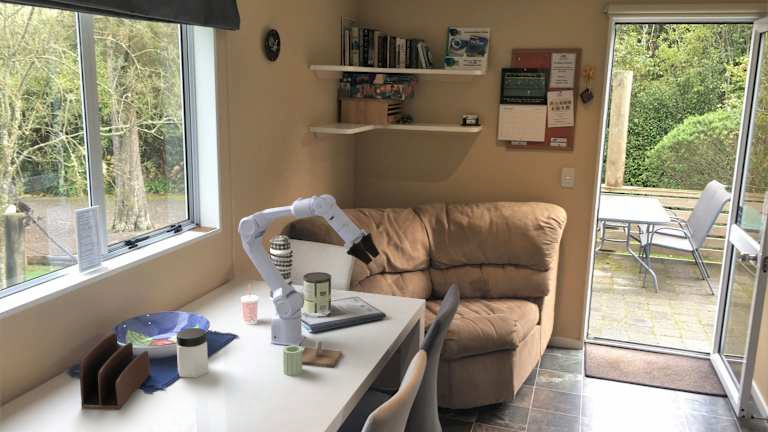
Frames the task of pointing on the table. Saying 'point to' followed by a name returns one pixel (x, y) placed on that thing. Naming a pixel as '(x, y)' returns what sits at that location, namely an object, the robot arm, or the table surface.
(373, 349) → the table surface
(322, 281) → the coffee can
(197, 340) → the jar
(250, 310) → the beverage cup
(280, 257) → the decorative candle
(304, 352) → the spool holder
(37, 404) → the table surface
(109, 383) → the letter holder
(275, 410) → the table surface
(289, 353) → the green segmented tube
